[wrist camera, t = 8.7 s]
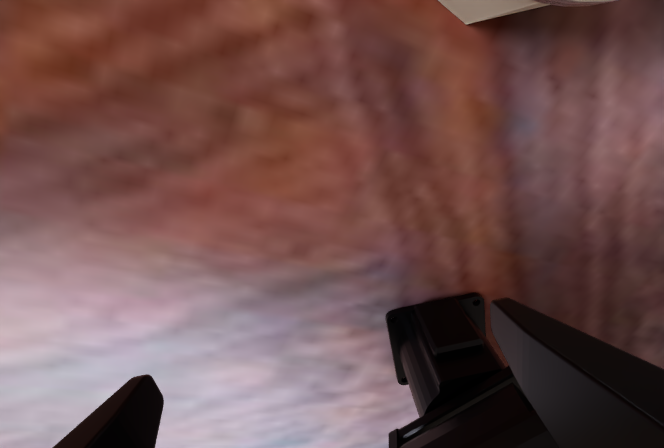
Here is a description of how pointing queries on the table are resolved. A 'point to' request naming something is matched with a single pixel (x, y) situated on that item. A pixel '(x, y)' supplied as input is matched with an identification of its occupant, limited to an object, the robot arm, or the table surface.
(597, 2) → the cooker lid
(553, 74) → the table surface
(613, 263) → the table surface
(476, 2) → the cooker pot
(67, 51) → the table surface
